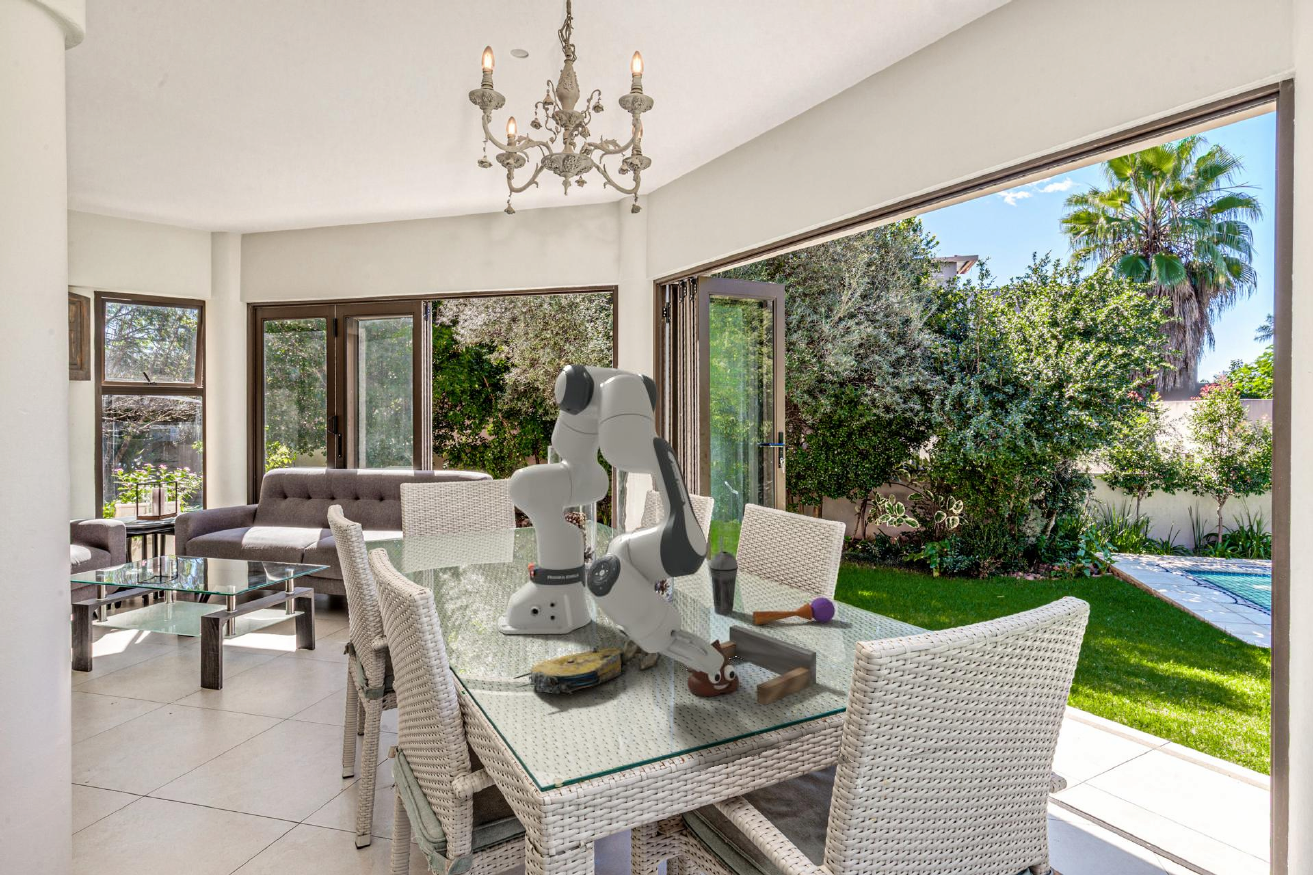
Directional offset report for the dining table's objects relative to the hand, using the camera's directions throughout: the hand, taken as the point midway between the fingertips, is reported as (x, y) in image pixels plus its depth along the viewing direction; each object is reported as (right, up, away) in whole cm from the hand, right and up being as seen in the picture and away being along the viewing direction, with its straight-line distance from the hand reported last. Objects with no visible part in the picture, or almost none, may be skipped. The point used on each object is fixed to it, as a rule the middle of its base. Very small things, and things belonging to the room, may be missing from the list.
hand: (696, 666), depth 127 cm
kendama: (+26, -4, +42) cm, 50 cm away
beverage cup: (+10, -3, +50) cm, 51 cm away
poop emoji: (+4, -6, +4) cm, 8 cm away
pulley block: (-19, -6, +9) cm, 22 cm away
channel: (+11, -5, +10) cm, 15 cm away
